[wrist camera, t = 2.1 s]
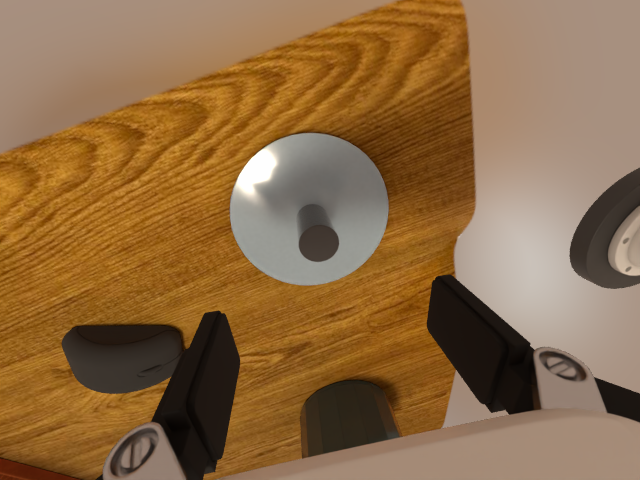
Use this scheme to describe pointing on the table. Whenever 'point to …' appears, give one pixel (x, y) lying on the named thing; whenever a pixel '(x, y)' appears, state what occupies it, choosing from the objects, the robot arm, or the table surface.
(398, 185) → the table surface
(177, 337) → the computer mouse
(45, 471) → the book
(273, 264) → the lid
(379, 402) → the tin
